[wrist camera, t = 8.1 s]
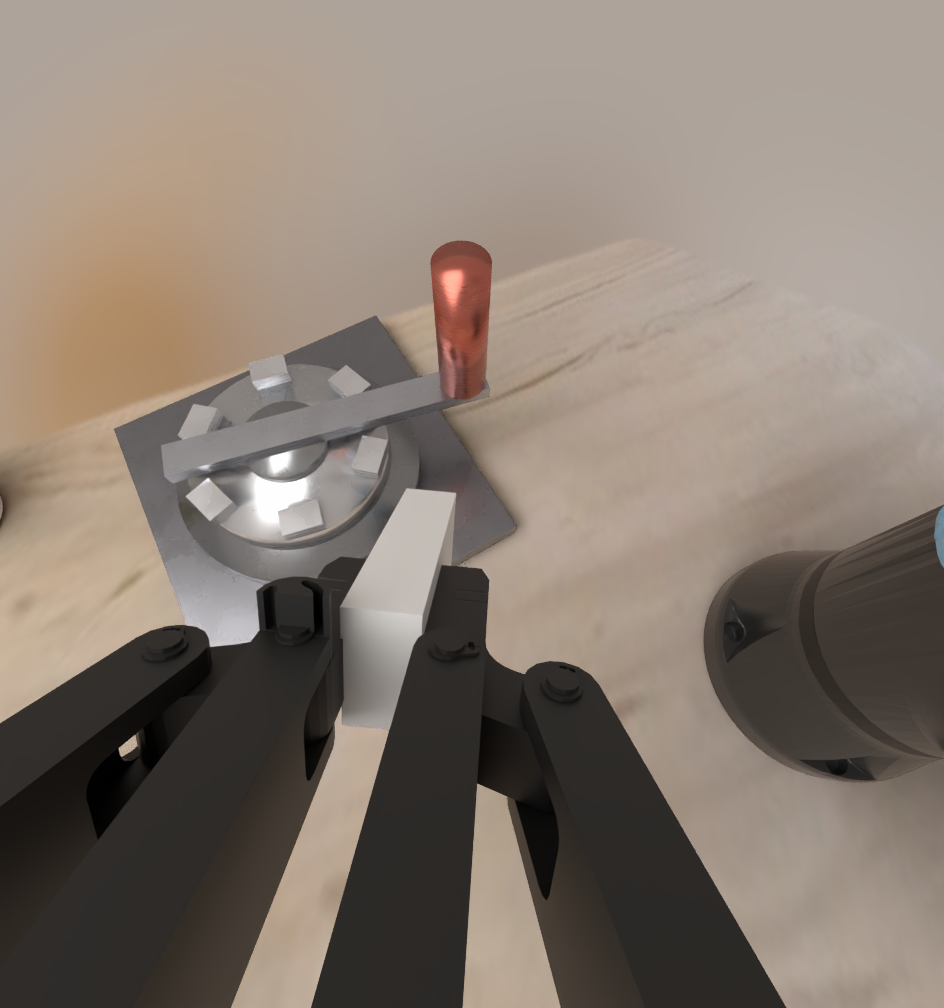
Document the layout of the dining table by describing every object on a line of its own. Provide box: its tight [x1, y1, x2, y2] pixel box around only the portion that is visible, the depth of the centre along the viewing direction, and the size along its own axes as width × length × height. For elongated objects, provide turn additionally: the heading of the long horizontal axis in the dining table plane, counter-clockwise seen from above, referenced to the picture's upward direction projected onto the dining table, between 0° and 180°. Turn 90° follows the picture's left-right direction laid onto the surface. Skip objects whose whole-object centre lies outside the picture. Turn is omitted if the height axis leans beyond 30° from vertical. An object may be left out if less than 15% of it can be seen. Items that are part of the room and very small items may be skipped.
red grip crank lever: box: [161, 241, 492, 550], centre depth 32 cm, size 22×14×14 cm, turn 108°
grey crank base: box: [114, 316, 516, 647], centre depth 40 cm, size 24×24×4 cm
